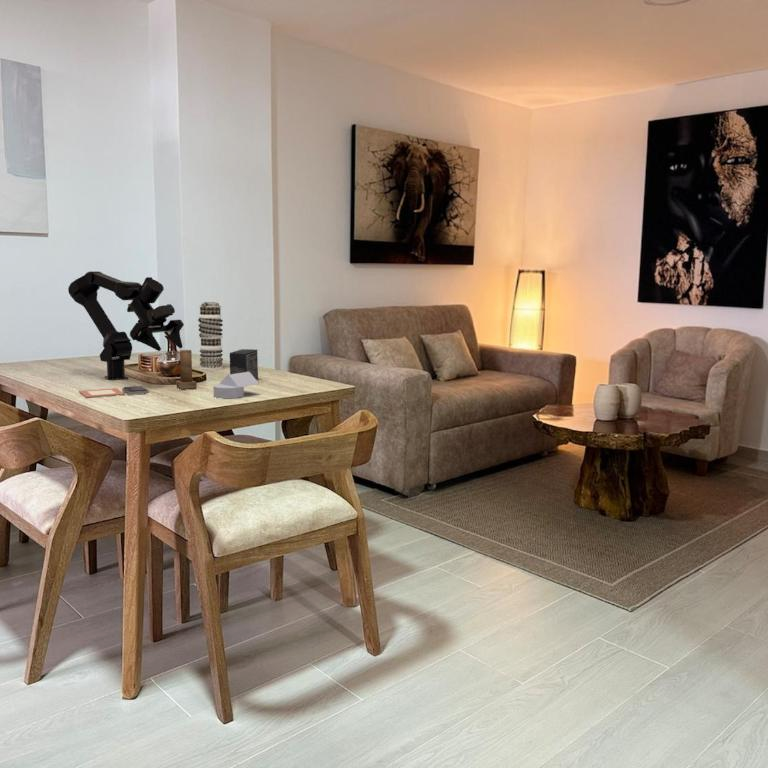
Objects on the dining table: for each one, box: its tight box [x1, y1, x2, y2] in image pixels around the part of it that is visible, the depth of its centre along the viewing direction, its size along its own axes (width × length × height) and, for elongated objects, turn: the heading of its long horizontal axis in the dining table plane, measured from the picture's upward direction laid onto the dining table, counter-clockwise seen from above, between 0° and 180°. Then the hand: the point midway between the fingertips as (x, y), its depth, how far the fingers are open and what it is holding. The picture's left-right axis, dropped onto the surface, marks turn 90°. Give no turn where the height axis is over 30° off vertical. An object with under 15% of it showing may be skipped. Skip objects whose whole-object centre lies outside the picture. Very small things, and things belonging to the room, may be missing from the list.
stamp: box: [175, 349, 198, 391], centre depth 233 cm, size 5×5×12 cm
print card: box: [78, 387, 126, 399], centre depth 222 cm, size 11×11×1 cm
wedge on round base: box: [213, 372, 260, 400], centre depth 223 cm, size 9×7×13 cm
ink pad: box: [122, 385, 150, 396], centre depth 225 cm, size 8×6×1 cm
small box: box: [229, 348, 259, 380], centre depth 250 cm, size 11×6×10 cm, turn 168°
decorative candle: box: [197, 301, 224, 371], centre depth 276 cm, size 9×9×25 cm
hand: (171, 348), depth 235 cm, fingers open, 9 cm apart
